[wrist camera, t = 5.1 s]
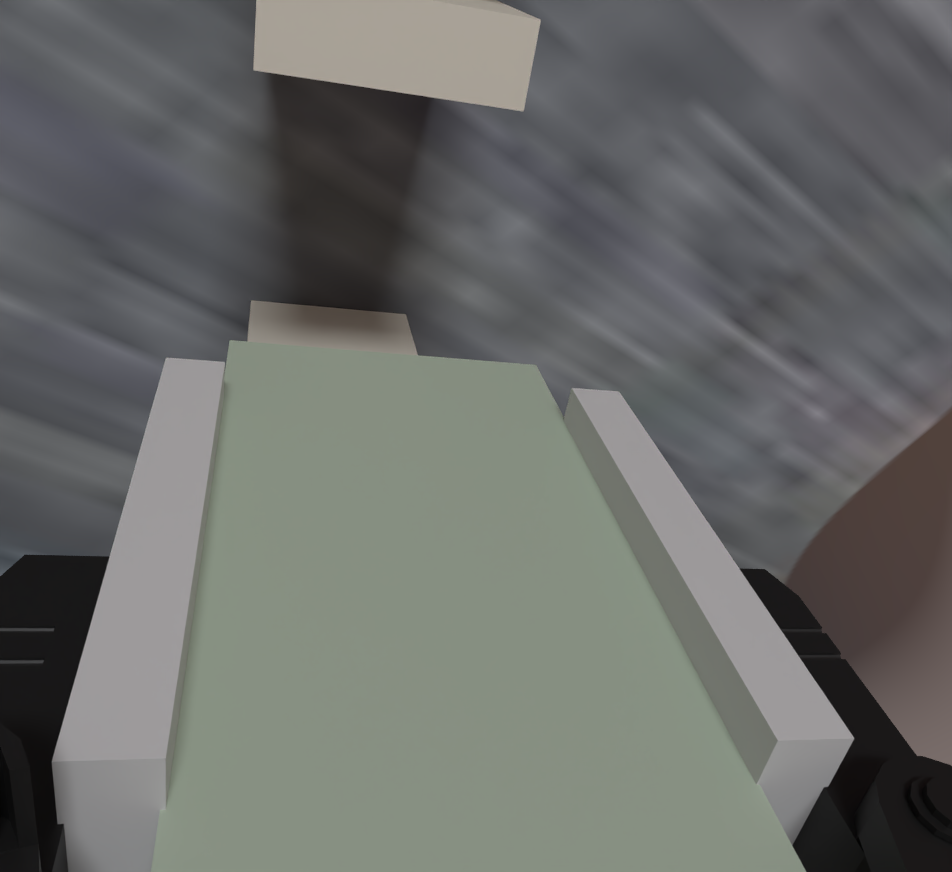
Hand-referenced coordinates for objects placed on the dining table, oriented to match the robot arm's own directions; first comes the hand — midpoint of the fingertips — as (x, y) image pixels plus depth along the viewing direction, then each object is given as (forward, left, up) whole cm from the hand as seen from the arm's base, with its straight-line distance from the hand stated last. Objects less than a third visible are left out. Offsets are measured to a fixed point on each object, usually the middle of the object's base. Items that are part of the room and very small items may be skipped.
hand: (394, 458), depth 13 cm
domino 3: (0, +5, -16) cm, 17 cm away
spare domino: (0, 0, -2) cm, 2 cm away
